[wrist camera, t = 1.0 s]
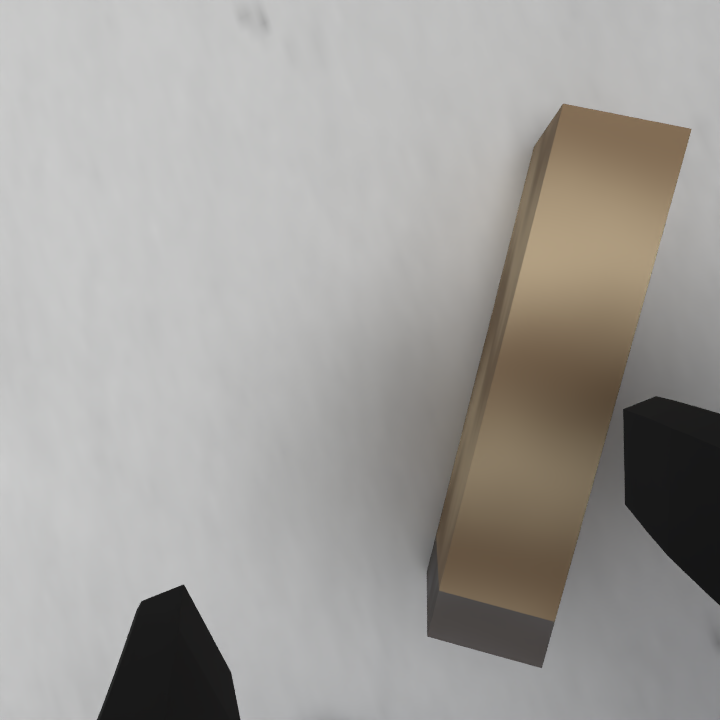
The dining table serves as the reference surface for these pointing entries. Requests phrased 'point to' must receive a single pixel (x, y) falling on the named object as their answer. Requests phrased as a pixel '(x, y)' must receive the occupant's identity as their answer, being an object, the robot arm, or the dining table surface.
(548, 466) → the rail
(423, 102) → the dining table surface
